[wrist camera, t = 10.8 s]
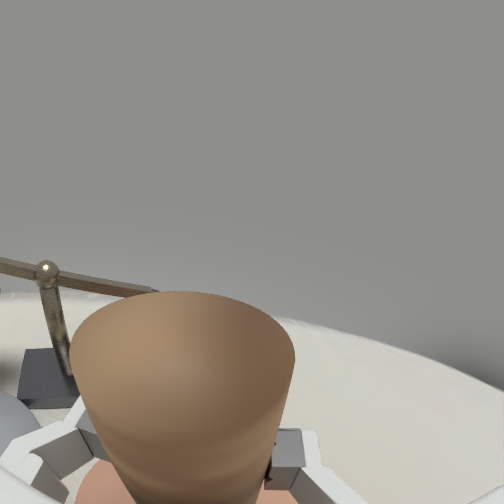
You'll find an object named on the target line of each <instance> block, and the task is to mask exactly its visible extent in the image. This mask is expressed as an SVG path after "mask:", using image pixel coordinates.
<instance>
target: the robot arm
mask: <svg viewBox="0 0 504 504" xmlns="http://www.w3.org/2000/svg"><path fill="white" fill-rule="evenodd" d="M94 457H96V458H99V459H101V460H104V461H108V462H111V461H110V459H109V457H108V455H107V453H106V451H105V450H104V448H103V446H102V443H101V441H100V439H99V437H98V435H97V433H96V431H95V429H94V426H93V424H92V422H91V420H90V417H89V415H88V413H87V410H86V408H85V405H84V403H83V400H82V398H81V395H80V396H79V398H78V399H77V401H76V402H75V404H74V405H73V407H72V408H71V410H70V411H69V413H68V414H67V416H66V417H65V419H64V420H63V422H62V421H57V422H55V423H52V424H50V425H48V426H45V427H43V428H40V429H38V430H36V431H33V432H31V433H28V434H26V435H23V436H21V437H18V438H16V439H13V440H12V441H11V443H10V444H9V446H8V447H7V449H6V450H5V451H4V453H3V454H2V456H1V457H0V504H64V503H65V501H66V498H67V496H68V494H69V491H68V489H67V488H66V487H65V486H64V484H63V483H62V482H61V481H60V480H61V479H63V478H64V477H66V476H67V475H69V474H71V473H72V472H74V471H75V470H77V469H78V468H80V467H81V466H83V465H84V464H86V463H87V462H89V461H90V460H92V459H93V458H94ZM264 490H280V491H289V492H290V494H291V495H292V496H293V497H294V499H295V500H296V501H297V502H298V504H369V503H368V502H367V501H366V500H364V499H363V498H362V497H361V496H360V495H359V494H357V493H356V492H355V491H354V490H353V489H352V488H351V487H349V486H348V485H347V484H346V483H345V482H344V481H343V480H342V479H340V478H339V477H338V476H337V475H336V474H335V473H334V472H333V471H332V470H331V469H330V468H329V467H328V466H323V464H322V458H321V453H320V447H319V442H318V436H317V431H316V430H315V429H314V428H310V429H299V428H279V429H278V433H277V436H276V440H275V443H274V447H273V450H272V454H271V457H270V461H269V464H268V467H267V470H266V474H265V477H264ZM468 504H504V485H502V486H499V487H497V488H495V489H493V490H492V491H490V492H488V493H487V494H485V495H483V496H481V497H480V498H478V499H476V500H474V501H472V502H470V503H468Z"/></svg>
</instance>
